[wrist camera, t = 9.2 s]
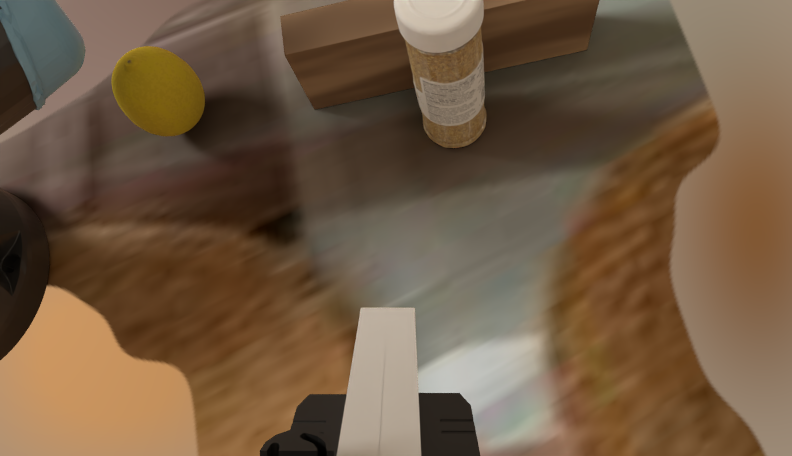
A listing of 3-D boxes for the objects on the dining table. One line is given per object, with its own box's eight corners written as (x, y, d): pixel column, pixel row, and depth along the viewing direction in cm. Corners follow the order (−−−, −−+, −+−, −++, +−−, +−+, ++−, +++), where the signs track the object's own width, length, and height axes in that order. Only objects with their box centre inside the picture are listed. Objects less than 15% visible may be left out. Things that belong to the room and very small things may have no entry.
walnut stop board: (587, 49, 44) (603, -18, 37) (314, 109, 45) (284, 55, 39) (576, 15, 45) (590, -57, 38) (310, 75, 46) (280, 16, 40)
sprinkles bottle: (430, 90, 45) (402, -48, 32) (493, 97, 44) (490, -42, 31) (417, 147, 43) (383, 26, 31) (481, 155, 42) (473, 34, 30)
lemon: (139, 137, 47) (72, 81, 39) (178, 78, 48) (120, 13, 41) (197, 164, 45) (138, 111, 38) (235, 103, 47) (186, 40, 39)
